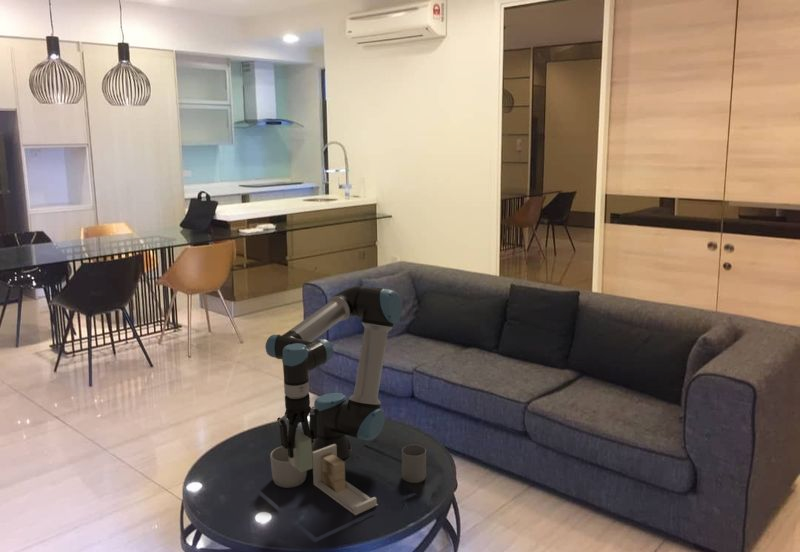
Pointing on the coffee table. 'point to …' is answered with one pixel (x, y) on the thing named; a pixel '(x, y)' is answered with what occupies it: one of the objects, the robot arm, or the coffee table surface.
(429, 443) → the coffee table surface
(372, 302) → the robot arm
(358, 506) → the track
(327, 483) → the oak panel
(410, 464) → the cup
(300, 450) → the green panel
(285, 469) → the planter
